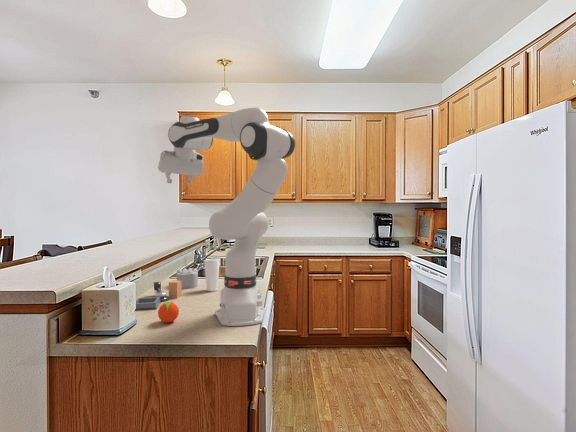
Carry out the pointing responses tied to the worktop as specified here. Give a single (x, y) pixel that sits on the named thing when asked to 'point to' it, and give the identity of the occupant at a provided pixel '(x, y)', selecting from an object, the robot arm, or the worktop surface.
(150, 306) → the tray
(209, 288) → the drinking glass
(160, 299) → the crank base
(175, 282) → the block
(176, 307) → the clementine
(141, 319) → the worktop surface
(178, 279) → the grey animal paw
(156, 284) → the crank
